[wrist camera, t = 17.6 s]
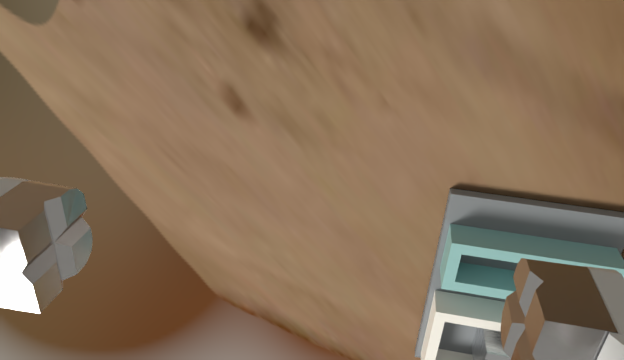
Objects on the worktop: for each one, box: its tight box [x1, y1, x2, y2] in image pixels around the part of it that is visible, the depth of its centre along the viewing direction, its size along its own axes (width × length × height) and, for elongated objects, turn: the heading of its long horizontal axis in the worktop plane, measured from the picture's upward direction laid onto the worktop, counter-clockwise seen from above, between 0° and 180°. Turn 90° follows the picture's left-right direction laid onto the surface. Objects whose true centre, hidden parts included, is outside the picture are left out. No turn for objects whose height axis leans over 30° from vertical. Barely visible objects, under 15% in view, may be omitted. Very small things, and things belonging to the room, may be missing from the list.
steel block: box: [472, 327, 511, 360], centre depth 48 cm, size 4×4×5 cm
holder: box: [415, 188, 624, 360], centre depth 47 cm, size 15×20×4 cm
